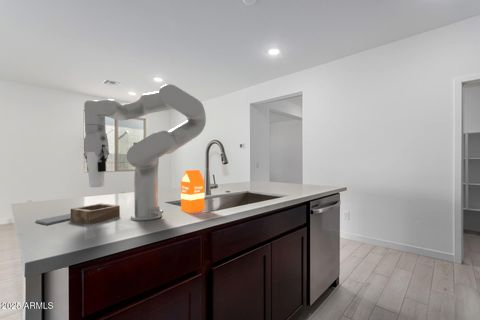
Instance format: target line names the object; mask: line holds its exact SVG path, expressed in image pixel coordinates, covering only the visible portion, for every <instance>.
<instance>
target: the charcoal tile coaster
mask: <svg viewBox="0 0 480 320" xmlns="http://www.w3.org/2000/svg"><path fill="white" fill-rule="evenodd" d="M66 221H67V222H68V221H71V213H68V214H67V213H66V214H63V215H62V214H61V215H56V216H51V217H47V218H46V217H45V218H41V219H36V220H35V223H36V224H42V225H45V226H50V225H53V224H58V223H63V222H66Z"/></svg>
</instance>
